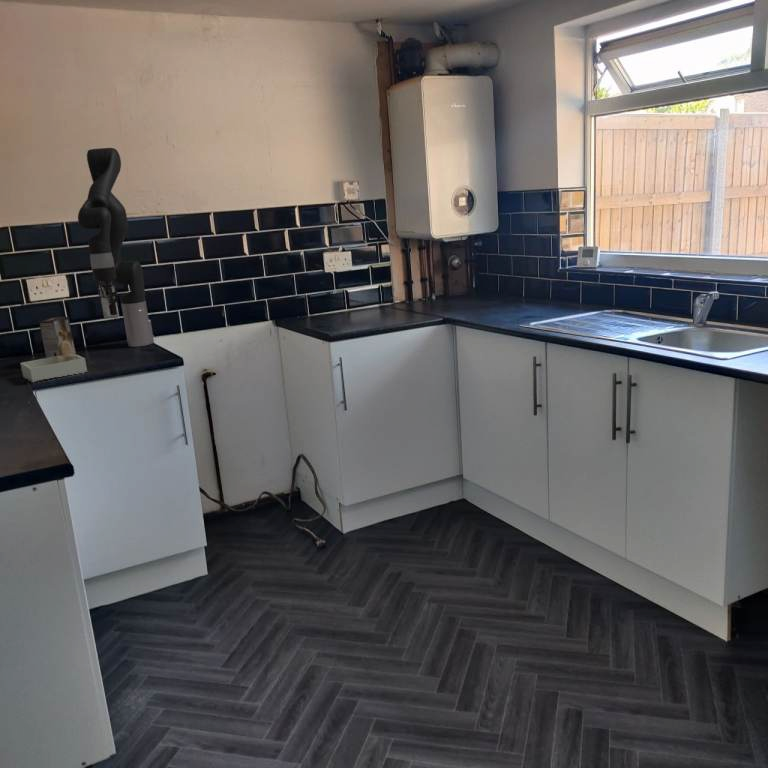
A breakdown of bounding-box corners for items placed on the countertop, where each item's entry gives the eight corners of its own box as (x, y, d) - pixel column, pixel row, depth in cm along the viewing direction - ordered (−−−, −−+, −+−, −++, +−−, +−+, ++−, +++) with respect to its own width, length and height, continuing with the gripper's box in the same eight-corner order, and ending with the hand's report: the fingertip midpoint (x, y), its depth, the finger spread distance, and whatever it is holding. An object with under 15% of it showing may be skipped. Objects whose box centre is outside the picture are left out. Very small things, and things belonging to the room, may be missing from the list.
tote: (75, 366, 260) (73, 352, 259) (87, 372, 250) (84, 358, 248) (23, 376, 250) (20, 362, 248) (33, 383, 239) (30, 368, 238)
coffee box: (62, 358, 275) (54, 316, 271) (77, 358, 274) (69, 316, 270) (46, 364, 267) (38, 321, 262) (62, 364, 265) (53, 321, 261)
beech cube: (73, 367, 255) (71, 353, 254) (78, 369, 252) (75, 355, 250) (59, 370, 252) (56, 356, 251) (63, 372, 249) (60, 358, 247)
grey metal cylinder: (116, 315, 261) (112, 295, 260) (121, 316, 258) (117, 296, 256) (102, 317, 258) (98, 297, 257) (107, 318, 255) (103, 298, 253)
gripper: (120, 265, 250) (128, 314, 255) (106, 264, 261) (114, 310, 265) (99, 268, 246) (107, 317, 250) (85, 266, 256) (93, 314, 261)
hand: (111, 314), depth 258 cm, fingers closed on grey metal cylinder, 5 cm apart
